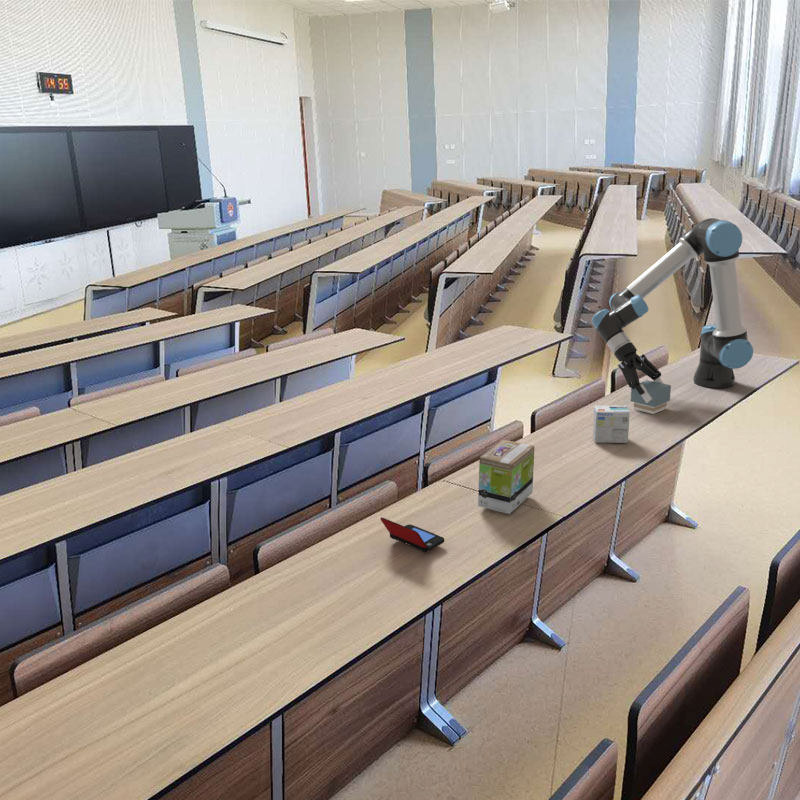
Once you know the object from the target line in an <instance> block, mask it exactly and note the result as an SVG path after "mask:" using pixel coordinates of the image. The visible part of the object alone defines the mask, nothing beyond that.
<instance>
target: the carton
mask: <svg viewBox="0 0 800 800" xmlns="http://www.w3.org/2000/svg"><path fill="white" fill-rule="evenodd" d="M667 405H668V402H666V403H663V404H661V405H658V406H656V407H652V406H648V405H644V404H640V403H636V402H633V410H636V411H638V412H643V413H648V414H651V415H654V414H657V413H660V412H661V411H664V410H666V409H667Z"/></svg>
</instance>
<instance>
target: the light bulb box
mask: <svg viewBox="0 0 800 800" xmlns="http://www.w3.org/2000/svg"><path fill="white" fill-rule="evenodd" d="M630 413H631V412H630V410H629V408H628V406H627V405H593V423H592V424H593V427H592V430H593V431H592V432H593V433H592V436H593V440H594V442H595V443H606V444H607V443H614V444H615V443H617V444H619V443H621V444H622V443H623V444H624V443H626V444H627V443H629V429H630V415H631V414H630Z"/></svg>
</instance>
